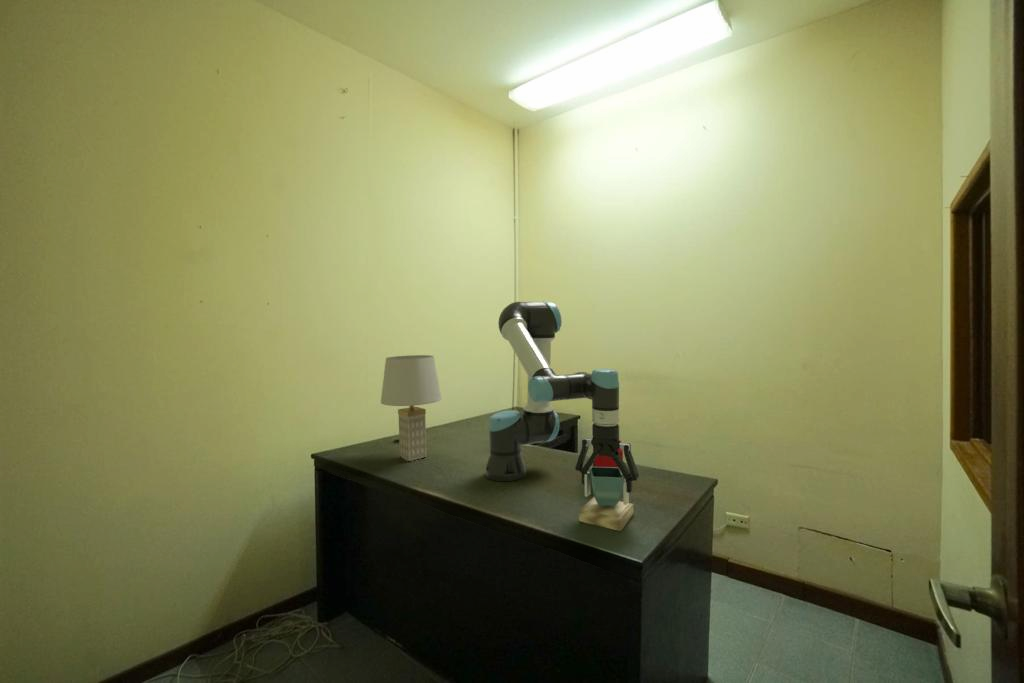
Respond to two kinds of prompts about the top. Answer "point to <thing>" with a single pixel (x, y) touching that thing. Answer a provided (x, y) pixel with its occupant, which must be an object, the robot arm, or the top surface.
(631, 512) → the oak stand
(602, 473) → the flower pot
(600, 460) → the red mechanical box
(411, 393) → the lamp
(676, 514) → the top surface
